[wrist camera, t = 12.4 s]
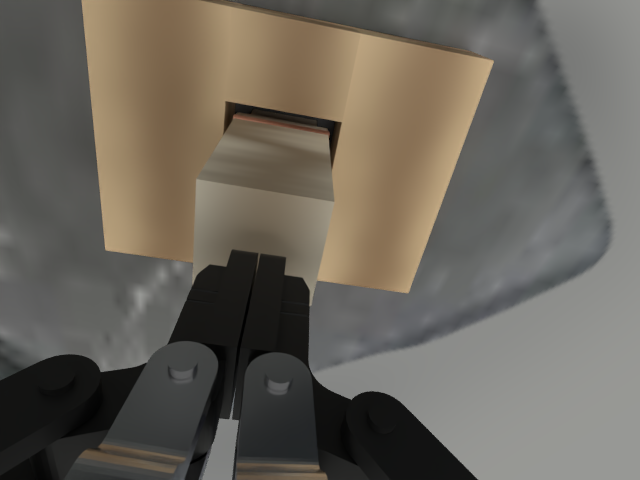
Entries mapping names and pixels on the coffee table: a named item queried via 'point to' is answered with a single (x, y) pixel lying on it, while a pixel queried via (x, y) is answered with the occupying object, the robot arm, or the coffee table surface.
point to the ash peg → (266, 194)
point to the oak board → (283, 95)
